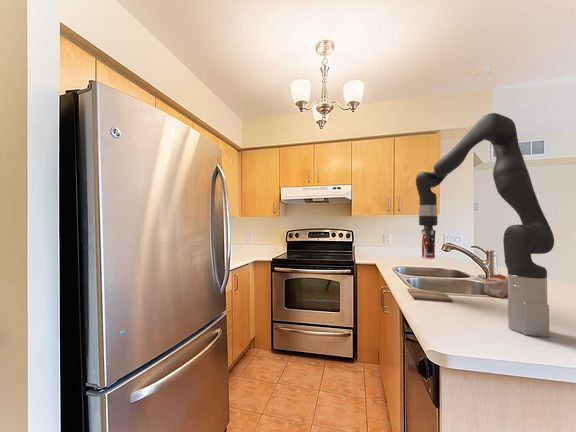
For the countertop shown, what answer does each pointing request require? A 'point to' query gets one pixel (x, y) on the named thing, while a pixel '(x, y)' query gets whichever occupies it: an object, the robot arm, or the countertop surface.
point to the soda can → (424, 249)
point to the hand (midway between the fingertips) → (428, 252)
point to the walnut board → (429, 295)
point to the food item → (497, 286)
